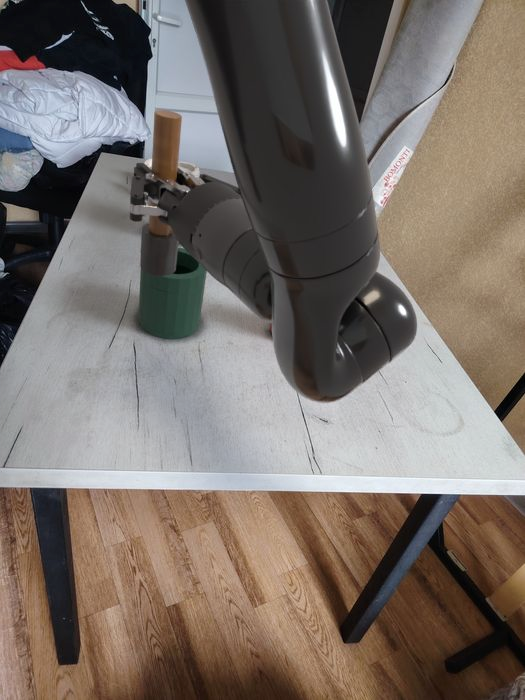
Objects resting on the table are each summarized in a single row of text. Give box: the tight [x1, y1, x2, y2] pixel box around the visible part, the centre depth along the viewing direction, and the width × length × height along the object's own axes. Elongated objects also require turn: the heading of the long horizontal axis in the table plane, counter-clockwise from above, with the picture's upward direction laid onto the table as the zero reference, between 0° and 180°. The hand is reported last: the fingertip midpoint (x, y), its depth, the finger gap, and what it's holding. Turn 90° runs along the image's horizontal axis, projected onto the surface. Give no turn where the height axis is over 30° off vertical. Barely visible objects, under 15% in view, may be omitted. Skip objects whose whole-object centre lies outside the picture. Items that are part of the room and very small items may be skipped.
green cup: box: [138, 246, 208, 340], centre depth 76 cm, size 10×10×11 cm
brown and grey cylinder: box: [139, 109, 183, 276], centre depth 55 cm, size 4×4×18 cm
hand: (152, 171), depth 55 cm, fingers closed on brown and grey cylinder, 3 cm apart
